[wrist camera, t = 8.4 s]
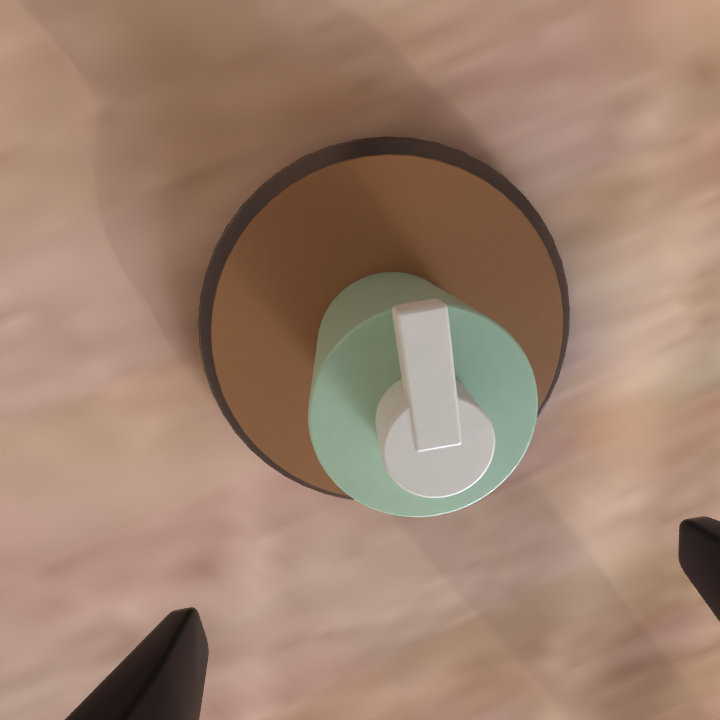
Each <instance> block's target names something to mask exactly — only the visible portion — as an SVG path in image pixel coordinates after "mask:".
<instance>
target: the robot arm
mask: <svg viewBox="0 0 720 720" xmlns="http://www.w3.org/2000/svg"><path fill="white" fill-rule="evenodd" d="M679 562H680V565H681V567H682V569H683V571H684V572H685V574H686V575H687V577H688V578H689V580H690V581H691V582H692V584H693V585H694V587H695V588H696V589H697V591H698V592H699V593H700V595H701V596H702V598H703V599H704V600H705V602H706V603H707V605H708V606H709V607H710V609H711V610H712V612H713V613H714V614H715V616H716V617H717V619H718V620H719V621H720V521H718V520H715V519H712V518H709V517H696V518H690V519H685V520H683V521H682V522H681V524H680V527H679ZM208 652H209V650H208V642H207V638H206V635H205V632H204V629H203V626H202V622H201V619H200V616H199V613H198V611H197V610H196V609H195V608H193V607H190V608H185V609H179V610H175V611H172V612H171V613H170V614H168V615H167V616H166V617H165V618H164V619H163V620H162V621H161V622H160V623H159V625H158V626H157V627H156V628H155V629H154V630H153V631H152V632H151V633H150V634H149V635H148V636H147V637H146V638H145V639H144V640H143V641H142V642H141V643H140V644H139V645H138V646H137V647H136V648H135V649H134V650H133V651H132V652H131V653H130V654H129V655H128V656H127V657H126V658H125V659H124V660H123V661H122V662H121V663H120V664H119V665H118V666H117V667H116V668H115V669H114V670H113V671H112V672H111V673H110V674H109V675H108V676H107V677H106V678H105V679H104V680H103V681H102V682H101V683H100V684H99V686H98V687H97V688H96V689H95V690H94V691H93V692H92V693H91V694H90V695H89V696H88V697H87V698H86V699H85V700H84V701H83V702H82V703H81V704H80V705H79V706H78V707H77V708H76V709H75V710H74V711H73V712H72V713H71V714H70V715H69V716H68V717H67V718H66V719H65V720H199V717H200V710H201V703H202V696H203V690H204V683H205V676H206V669H207V662H208Z"/></svg>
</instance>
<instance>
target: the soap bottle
mask: <svg viewBox="0 0 720 720" xmlns="http://www.w3.org/2000/svg"><path fill="white" fill-rule="evenodd" d="M562 335H563V310H562V300H561V292H560V288H559V284H558V280H557V276H556V272H555V269H554V266H553V264H552V261H551V259H550V256H549V254H548V251H547V249H546V247H545V245H544V244H543V242H542V240H541V238H540V237H539V235H538V233H537V231H536V230H535V228H534V227H533V226H532V224H531V223H530V222H529V220H528V219H527V218H526V217H525V215H524V214H523V213H522V211H521V210H520V209H519V208H518V207H517V206H516V205H515V204H514V203H513V202H512V201H510V200H509V199H508V198H507V197H506V196H505V195H504V194H503V193H502V192H500V191H499V190H498V189H496V188H495V187H493V186H492V185H491V184H489V183H488V182H486V181H485V180H484V179H482V178H480V177H478V176H476V175H474V174H472V173H470V172H468V171H466V170H464V169H462V168H460V167H457V166H454V165H451V164H448V163H445V162H442V161H439V160H435V159H430V158H425V157H420V156H414V155H397V154H383V155H373V156H363V157H358V158H354V159H350V160H346V161H342V162H338V163H335V164H332V165H330V166H327V167H325V168H322V169H320V170H317V171H315V172H313V173H311V174H309V175H307V176H306V177H304V178H302V179H300V180H299V181H297V182H295V183H293V184H292V185H290V186H289V187H287V188H286V189H285V190H284V191H282V192H281V193H280V194H278V195H277V196H276V197H275V198H273V199H272V200H271V201H270V202H269V203H268V204H267V205H266V206H265V207H264V208H263V209H262V210H261V211H260V212H259V213H258V214H257V215H256V216H255V217H254V218H253V219H252V221H251V222H250V223H249V225H248V226H247V227H246V229H245V230H244V231H243V233H242V234H241V236H240V237H239V238H238V240H237V242H236V244H235V245H234V247H233V249H232V251H231V253H230V255H229V257H228V258H227V260H226V263H225V265H224V268H223V271H222V273H221V276H220V279H219V282H218V285H217V289H216V294H215V298H214V303H213V309H212V321H211V342H212V355H213V360H214V365H215V370H216V375H217V378H218V381H219V384H220V387H221V390H222V393H223V396H224V398H225V400H226V402H227V404H228V406H229V408H230V410H231V412H232V414H233V416H234V417H235V419H236V420H237V422H238V423H239V425H240V426H241V428H242V429H243V431H244V432H245V434H246V435H247V436H248V437H249V438H250V439H251V440H252V441H253V443H254V444H255V445H256V446H257V447H258V448H259V449H260V450H261V451H262V452H263V453H264V454H265V455H266V456H268V457H269V458H270V459H271V460H272V461H273V462H274V463H276V464H277V465H279V466H280V467H281V468H283V469H284V470H286V471H287V472H289V473H290V474H292V475H293V476H295V477H297V478H299V479H301V480H303V481H305V482H307V483H309V484H311V485H314V486H316V487H319V488H322V489H325V490H327V491H330V492H334V493H338V494H342V495H347V496H350V497H352V498H353V499H355V500H356V501H358V502H360V503H362V504H364V505H366V506H367V507H369V508H372V509H375V510H378V511H380V512H383V513H388V514H392V515H396V516H405V517H428V516H436V515H441V514H445V513H450V512H453V511H456V510H459V509H461V508H464V507H466V506H468V505H471V504H473V503H475V502H477V501H478V500H480V499H482V498H483V497H485V496H486V495H488V494H489V493H491V492H492V491H493V490H494V489H496V488H497V487H498V486H499V485H501V484H502V483H503V482H504V480H505V479H506V478H507V477H508V476H509V475H510V474H511V473H512V472H513V470H514V469H515V468H516V467H517V465H518V464H519V462H520V461H521V459H522V457H523V456H524V454H525V452H526V450H527V448H528V446H529V443H530V441H531V439H532V436H533V432H534V429H535V425H536V419H537V412H538V410H539V408H540V406H541V404H542V403H543V401H544V399H545V397H546V395H547V392H548V390H549V388H550V385H551V383H552V381H553V378H554V374H555V371H556V367H557V364H558V361H559V356H560V349H561V343H562Z"/></svg>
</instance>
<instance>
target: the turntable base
mask: <svg viewBox="0 0 720 720" xmlns="http://www.w3.org/2000/svg"><path fill="white" fill-rule="evenodd" d="M383 154H397V155H414V156H420V157H425V158H430V159H435V160H439V161H442V162H445V163H448V164H451V165H454V166H457V167H460V168H462V169H464V170H466V171H468V172H470V173H472V174H474V175H476V176H478V177H480V178H482V179H484V180H485V181H486V182H488V183H489V184H491V185H492V186H493V187H495V188H496V189H498V190H499V191H500V192H502V193H503V194H504V195H505V196H506V197H507V198H508V199H509V200H510V201H512V202H513V203H514V204H515V205H516V206H517V207H518V208H519V209H520V210H521V211H522V213H523V214H524V215H525V217H526V218H527V219H528V220H529V222H530V223H531V224H532V226H533V227H534V228H535V230H536V231H537V233H538V235H539V237H540V238H541V240H542V242H543V244H544V245H545V247H546V249H547V251H548V254H549V256H550V259H551V261H552V264H553V266H554V269H555V272H556V276H557V280H558V284H559V288H560V292H561V300H562V310H563V335H562V343H561V349H560V356H559V361H558V364H557V367H556V371H555V374H554V378H553V381H552V383H551V385H550V388H549V390H548V392H547V395H546V397H545V399H544V401H543V403H542V404H541V406H540V408H539V410H538V412H537V418H538V416H539V415H540V413H541V411H542V409H543V408H544V406H545V404H546V403H547V401H548V399H549V398H550V395H551V393H552V391H553V388H554V386H555V384H556V382H557V379H558V377H559V374H560V370H561V367H562V364H563V360H564V357H565V352H566V346H567V340H568V334H569V313H570V307H569V297H568V287H567V282H566V277H565V273H564V269H563V265H562V261H561V258H560V256H559V253H558V251H557V248H556V245H555V243H554V240H553V238H552V236H551V234H550V233H549V231H548V229H547V227H546V225H545V224H544V222H543V220H542V218H541V217H540V215H539V214H538V213H537V211H536V210H535V209H534V208H533V206H532V205H531V204H530V202H529V201H528V200H527V198H526V197H525V196H524V195H523V194H522V193H521V192H520V191H519V190H518V189H517V188H516V187H515V186H514V185H513V184H512V183H511V182H510V181H509V180H508V179H506V178H505V177H504V176H502V175H501V174H499V173H498V172H497V171H495V170H494V169H493V168H491V167H490V166H488V165H487V164H485V163H483V162H482V161H480V160H478V159H476V158H474V157H472V156H470V155H468V154H466V153H464V152H462V151H459V150H457V149H454V148H451V147H448V146H445V145H442V144H439V143H435V142H430V141H425V140H420V139H415V138H404V137H375V138H364V139H356V140H352V141H348V142H344V143H340V144H336V145H332V146H329V147H326V148H324V149H321V150H319V151H316V152H314V153H311V154H309V155H306V156H304V157H303V158H301V159H299V160H297V161H296V162H294V163H292V164H290V165H289V166H287V167H285V168H284V169H282V170H281V171H279V172H278V173H277V174H275V175H274V176H273V177H272V178H270V179H269V180H268V181H266V182H265V183H264V184H263V185H261V186H260V187H259V188H258V189H257V190H256V191H255V192H254V193H253V194H252V196H251V197H250V198H249V199H248V200H247V201H246V202H245V203H244V204H243V205H242V206H241V207H240V209H239V210H238V212H237V213H236V214H235V216H234V217H233V218H232V220H231V221H230V223H229V224H228V225H227V227H226V229H225V230H224V232H223V234H222V236H221V238H220V240H219V242H218V244H217V246H216V247H215V249H214V252H213V255H212V257H211V260H210V263H209V265H208V268H207V271H206V274H205V278H204V283H203V288H202V292H201V297H200V307H199V321H198V326H199V342H200V351H201V356H202V361H203V365H204V370H205V373H206V376H207V379H208V382H209V385H210V388H211V391H212V393H213V395H214V397H215V399H216V401H217V403H218V405H219V407H220V409H221V411H222V413H223V415H224V416H225V418H226V419H227V421H228V422H229V424H230V425H231V427H232V428H233V430H234V431H235V433H236V434H237V435H238V436H239V437H240V438H241V439H242V441H243V442H244V443H245V444H246V445H247V446H248V447H249V448H250V450H252V451H253V452H254V453H255V454H256V455H257V456H258V457H260V458H261V459H262V460H263V461H264V462H265V463H266V464H268V465H269V466H271V467H272V468H274V469H275V470H277V471H278V472H280V473H281V474H283V475H284V476H286V477H287V478H289V479H291V480H293V481H295V482H297V483H299V484H301V485H303V486H305V487H308V488H311V489H313V490H316V491H319V492H322V493H324V494H328V495H332V496H336V497H341V498H345V499H352V500H355V499H353V498H352V497H350V496H347V495H342V494H338V493H334V492H330V491H327V490H325V489H322V488H319V487H316V486H314V485H311V484H309V483H307V482H305V481H303V480H301V479H299V478H297V477H295V476H293V475H292V474H290V473H289V472H287V471H286V470H284V469H283V468H281V467H280V466H279V465H277V464H276V463H274V462H273V461H272V460H271V459H270V458H269V457H268V456H266V455H265V454H264V453H263V452H262V451H261V450H260V449H259V448H258V447H257V446H256V445H255V444H254V443H253V441H252V440H251V439H250V438H249V437H248V436H247V435H246V434H245V432H244V431H243V429H242V428H241V426H240V425H239V423H238V422H237V420H236V419H235V417H234V416H233V414H232V412H231V410H230V408H229V406H228V404H227V402H226V400H225V398H224V396H223V393H222V390H221V387H220V384H219V381H218V378H217V375H216V370H215V365H214V360H213V355H212V342H211V321H212V309H213V303H214V298H215V294H216V289H217V285H218V282H219V279H220V276H221V273H222V271H223V268H224V265H225V263H226V260H227V258H228V257H229V255H230V253H231V251H232V249H233V247H234V245H235V244H236V242H237V240H238V238H239V237H240V236H241V234H242V233H243V231H244V230H245V229H246V227H247V226H248V225H249V223H250V222H251V221H252V219H253V218H254V217H255V216H256V215H257V214H258V213H259V212H260V211H261V210H262V209H263V208H264V207H265V206H266V205H267V204H268V203H269V202H270V201H271V200H272V199H273V198H275V197H276V196H277V195H278V194H280V193H281V192H282V191H284V190H285V189H286V188H287V187H289V186H290V185H292V184H293V183H295V182H297V181H299V180H300V179H302V178H304V177H306V176H307V175H309V174H311V173H313V172H315V171H317V170H320V169H322V168H325V167H327V166H330V165H332V164H335V163H338V162H342V161H346V160H350V159H354V158H358V157H363V156H373V155H383Z"/></svg>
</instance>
